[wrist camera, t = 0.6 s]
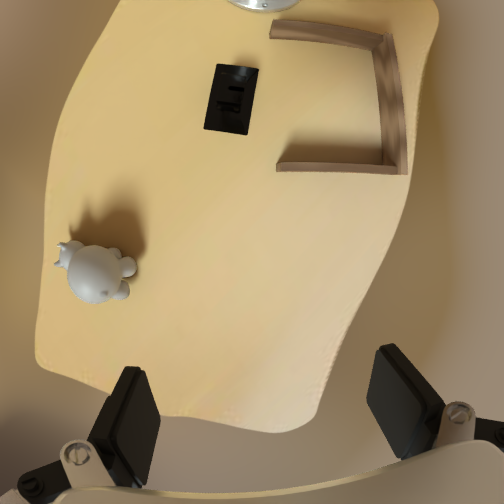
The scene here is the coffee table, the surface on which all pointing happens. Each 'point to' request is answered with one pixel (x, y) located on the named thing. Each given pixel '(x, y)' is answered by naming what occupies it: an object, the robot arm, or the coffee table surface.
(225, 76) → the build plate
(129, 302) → the coffee table surface
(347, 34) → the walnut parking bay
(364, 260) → the coffee table surface
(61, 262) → the white animal figurine
